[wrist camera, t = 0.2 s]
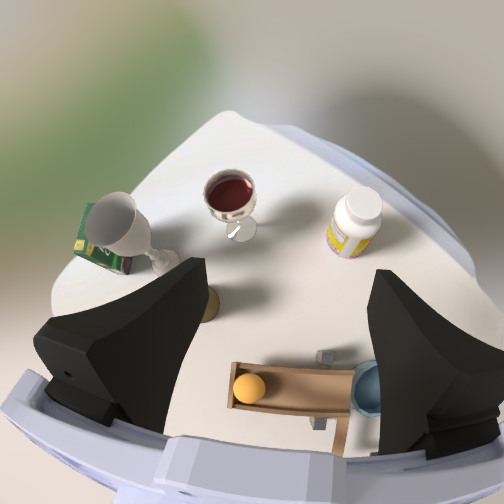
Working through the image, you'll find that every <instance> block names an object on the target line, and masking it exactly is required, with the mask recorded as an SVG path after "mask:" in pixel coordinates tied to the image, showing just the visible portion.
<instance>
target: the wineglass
mask: <svg viewBox="0 0 504 504" xmlns="http://www.w3.org/2000/svg"><path fill="white" fill-rule="evenodd" d="M203 196H204V201H205V203H206V204H207V207H208V210H209V211H210V213H211V214H212V216H214V217H215V218H216V219H218V220H220V221H223V222H226V223H228V224H227V229H226V230H227V234H228V236H229V237H230V238H231V239H232V240H234V241H237V242H244V241H248V240H249V239H251V238H252V237H253V236H254V234H255V232H256V227H257V225H256V222H255V220H254V219H253V218H252V217H251V216H249V215H250V214H251V213H252V212H253V210H254V208H255V205H256V200H257V193H256V190H255V185H254V182H253V180H252V178H251V177H250V176H249V175H248V174H247V173H245V172H243V171H241V170H237V169H226V170H223V171H219V172H218V173H216V174H214V175H213V176H212V177H211V178H210V179H209V180H208V181H207V183H206V185H205V187H204V192H203Z"/></svg>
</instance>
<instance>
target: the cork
mask: <svg viewBox="0 0 504 504" xmlns="http://www.w3.org/2000/svg"><path fill="white" fill-rule="evenodd" d="M208 290H209V300H208V304H207V307H206V310H205V313H204V316H203V319H202V321H201V323H206V322H208V321H210V320H212V319H213V318H214V317H215V316H216V314H217V312H218V310H219V304H220V303H219V298H218V296H217V294H216V292H215V291H214V290H213V289H212V288H210V287H208Z"/></svg>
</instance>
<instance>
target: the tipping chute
mask: <svg viewBox="0 0 504 504" xmlns="http://www.w3.org/2000/svg"><path fill="white" fill-rule="evenodd" d="M247 373H252V374H255V375H257V376H259V377H260V378H261V379H262V380H263V382H264V384H265V393H264V396H263V397H262V398H261V399H260V400H259V401H258V402H256V403H252V404H247V403H243V402H241V401H239V400H238V399H237V398H236V396H235V394H234V391H233V386H234V383H235V381H236V379H237V378H238V377H239V376H241V375H243V374H247ZM353 376H355V371H354V370H331V369H330V366H323V369H308V368H292V367H279V366H268V365H258V364H248V363H241V362H233V363H232V364H231V374H230V384H229V393H228V403H227V408H230V409H232V408H235V409H242V410H249V411H256V412H264V413H273V414H283V415H295V416H310V417H338V418H337V424H336V431H335V437H334V443H333V449H332V454H335V455H337V456H340V457H342V458H343V453H344V447H345V442H346V436H347V430H348V424H349V417H350V412H349V404H350V396H351V388H352V378H353ZM370 456H378V452H373V453H370Z"/></svg>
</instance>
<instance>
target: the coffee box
mask: <svg viewBox="0 0 504 504" xmlns="http://www.w3.org/2000/svg"><path fill="white" fill-rule="evenodd" d="M95 204H96V203H87V206H86V209H85V213H84V216H83V219H82V222H81V226H80V229H79V233H78V237H77V240H76V244H75V248H74V254H76V255H78V256H80V257H82V258H84V259H86V260H88V261H91V262H93V263H95V264H97V265H99V266H101V267H103V268H106V269H108V270H110V271H112V272H114V273H116V274H124V275H128V273H129V269H130V264H131V260H132V256H118V255H117V254H115V253H113V252H112V251H110V250H108V249H107V248H105V247H97V246H94V245H93V244H91V243H90V242H89V241H88V239H87V238H86V235H85V230H84V229H85V221H86V218H87V216H88V213H89V212H90V210H91V209H92V207H93V206H94V205H95Z"/></svg>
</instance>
